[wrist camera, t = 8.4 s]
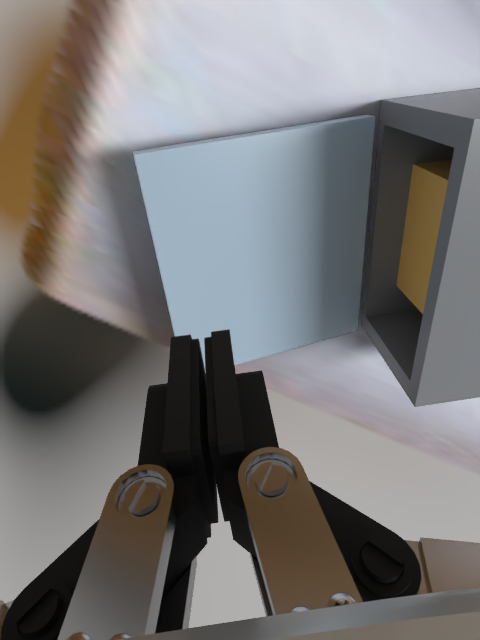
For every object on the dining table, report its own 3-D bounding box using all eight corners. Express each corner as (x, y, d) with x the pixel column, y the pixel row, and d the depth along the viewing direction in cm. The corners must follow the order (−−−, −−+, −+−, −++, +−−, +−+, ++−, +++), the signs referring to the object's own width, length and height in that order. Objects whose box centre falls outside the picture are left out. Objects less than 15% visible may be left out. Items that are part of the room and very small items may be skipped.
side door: (365, 114, 19) (132, 151, 17) (375, 116, 18) (133, 154, 16) (350, 323, 26) (181, 370, 23) (357, 330, 25) (184, 379, 23)
